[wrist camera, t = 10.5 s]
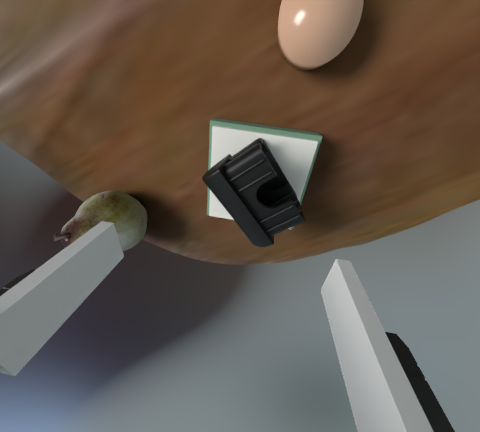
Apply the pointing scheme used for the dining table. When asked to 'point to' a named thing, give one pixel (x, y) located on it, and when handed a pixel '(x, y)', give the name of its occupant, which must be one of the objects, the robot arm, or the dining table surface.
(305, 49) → the pinkish tan egg
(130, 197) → the fruit
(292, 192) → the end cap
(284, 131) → the stand
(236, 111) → the dining table surface
